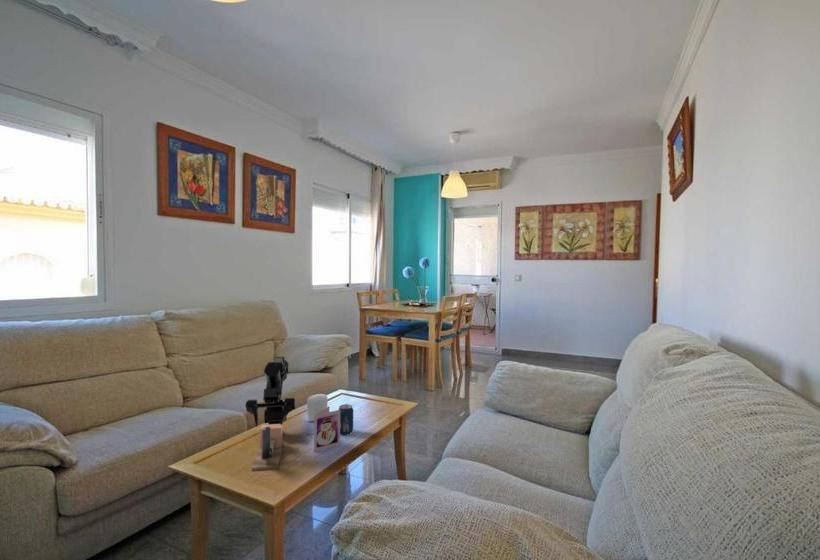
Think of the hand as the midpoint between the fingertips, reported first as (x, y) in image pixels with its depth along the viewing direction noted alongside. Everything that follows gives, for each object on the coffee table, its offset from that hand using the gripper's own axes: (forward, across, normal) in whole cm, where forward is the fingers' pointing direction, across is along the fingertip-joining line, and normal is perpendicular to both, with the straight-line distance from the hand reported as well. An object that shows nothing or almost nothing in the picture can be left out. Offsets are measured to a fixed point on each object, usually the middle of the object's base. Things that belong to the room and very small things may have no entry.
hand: (268, 425), depth 148 cm
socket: (+3, 0, +14) cm, 14 cm away
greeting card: (+5, +21, +13) cm, 26 cm away
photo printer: (-16, +18, +34) cm, 42 cm away
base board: (+8, 0, +9) cm, 12 cm away
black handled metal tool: (+7, 0, +8) cm, 11 cm away
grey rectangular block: (+8, 0, +8) cm, 11 cm away
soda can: (-3, +31, +21) cm, 38 cm away
